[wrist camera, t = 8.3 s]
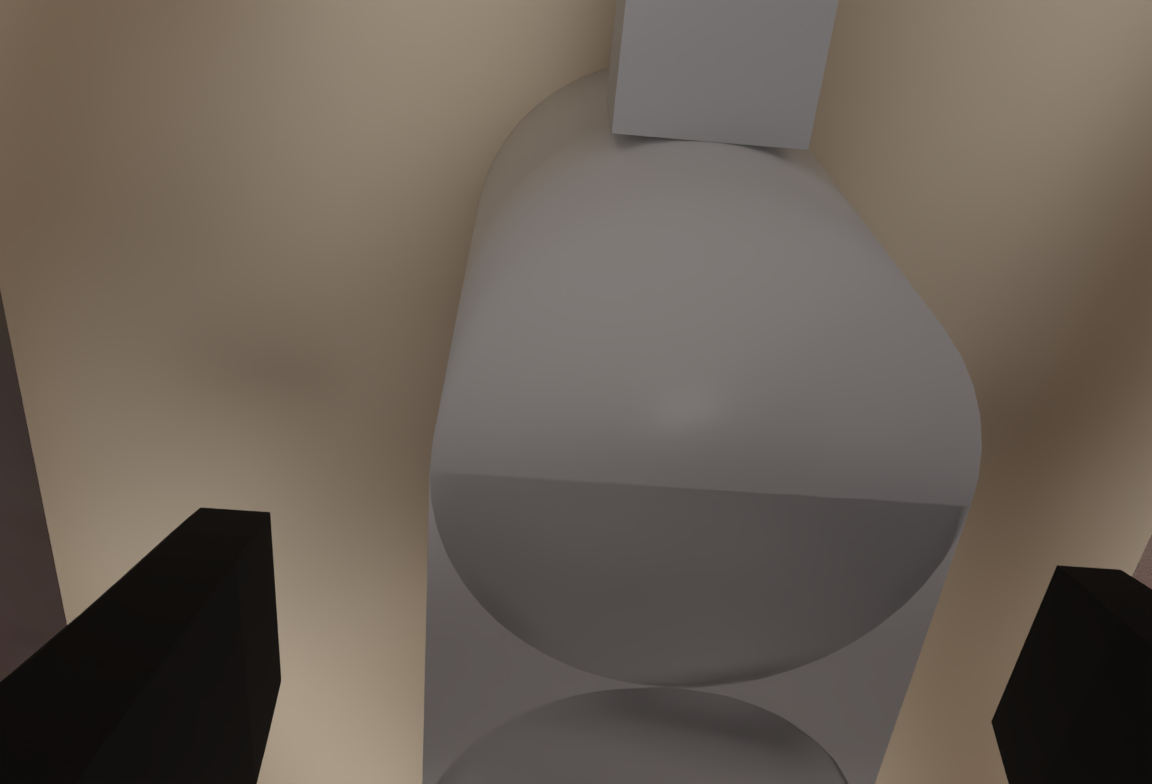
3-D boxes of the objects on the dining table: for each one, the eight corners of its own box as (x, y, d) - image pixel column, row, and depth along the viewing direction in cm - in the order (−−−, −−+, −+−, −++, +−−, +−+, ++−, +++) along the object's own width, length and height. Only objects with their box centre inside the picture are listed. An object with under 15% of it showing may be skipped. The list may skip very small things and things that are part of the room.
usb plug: (898, -108, 10) (1163, -45, 6) (733, 637, 15) (807, 977, 10) (491, -149, 10) (443, -117, 5) (458, 621, 15) (418, 964, 10)
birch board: (1510, -446, 10) (1625, -477, 9) (957, 840, 19) (980, 899, 18) (-114, -664, 9) (-204, -728, 8) (140, 802, 18) (114, 862, 17)
